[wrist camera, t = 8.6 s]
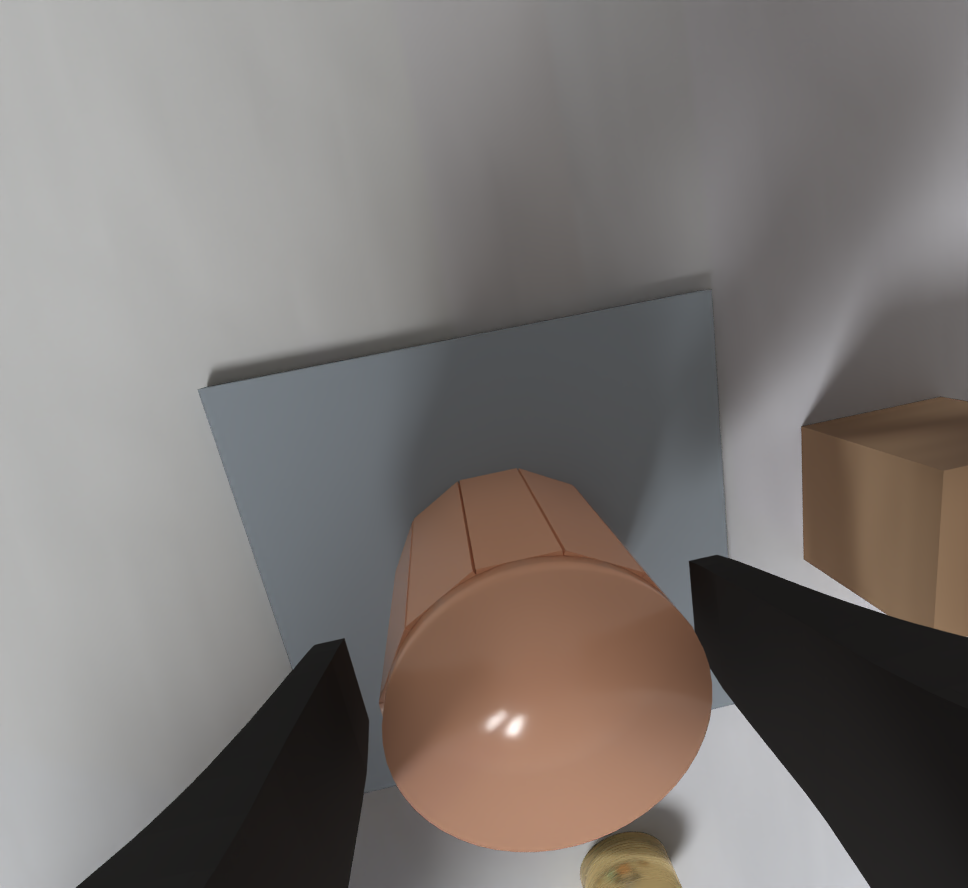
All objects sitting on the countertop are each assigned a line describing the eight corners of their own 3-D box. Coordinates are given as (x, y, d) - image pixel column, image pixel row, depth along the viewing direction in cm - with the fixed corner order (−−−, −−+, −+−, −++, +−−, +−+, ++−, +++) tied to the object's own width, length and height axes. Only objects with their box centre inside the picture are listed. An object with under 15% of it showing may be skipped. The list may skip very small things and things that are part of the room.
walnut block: (801, 557, 15) (932, 645, 11) (799, 425, 14) (944, 470, 10) (930, 528, 15) (1103, 603, 11) (937, 396, 14) (1131, 428, 10)
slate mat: (338, 787, 15) (336, 799, 15) (205, 387, 12) (197, 389, 11) (729, 693, 16) (736, 703, 15) (703, 289, 12) (711, 289, 12)
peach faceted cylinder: (424, 686, 14) (423, 884, 9) (375, 498, 12) (342, 616, 8) (622, 640, 14) (722, 808, 9) (597, 450, 13) (700, 535, 8)
